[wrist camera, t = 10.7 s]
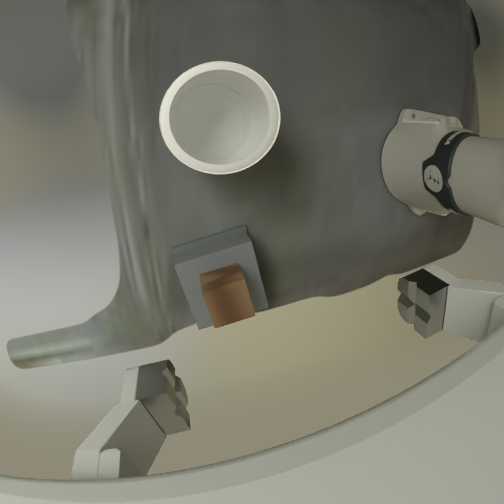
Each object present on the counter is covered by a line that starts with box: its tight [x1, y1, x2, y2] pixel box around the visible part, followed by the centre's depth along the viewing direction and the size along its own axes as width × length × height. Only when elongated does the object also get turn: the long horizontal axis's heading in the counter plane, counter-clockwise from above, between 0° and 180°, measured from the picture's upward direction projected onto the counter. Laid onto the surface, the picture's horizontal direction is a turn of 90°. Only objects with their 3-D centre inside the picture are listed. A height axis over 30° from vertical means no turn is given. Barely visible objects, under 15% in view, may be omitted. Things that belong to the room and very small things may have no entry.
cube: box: [199, 263, 255, 328], centre depth 37 cm, size 5×5×5 cm
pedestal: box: [171, 225, 269, 329], centre depth 43 cm, size 11×11×6 cm
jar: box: [159, 61, 280, 174], centre depth 31 cm, size 11×10×15 cm
